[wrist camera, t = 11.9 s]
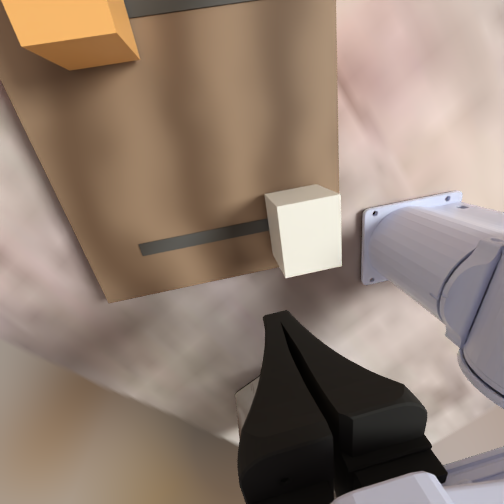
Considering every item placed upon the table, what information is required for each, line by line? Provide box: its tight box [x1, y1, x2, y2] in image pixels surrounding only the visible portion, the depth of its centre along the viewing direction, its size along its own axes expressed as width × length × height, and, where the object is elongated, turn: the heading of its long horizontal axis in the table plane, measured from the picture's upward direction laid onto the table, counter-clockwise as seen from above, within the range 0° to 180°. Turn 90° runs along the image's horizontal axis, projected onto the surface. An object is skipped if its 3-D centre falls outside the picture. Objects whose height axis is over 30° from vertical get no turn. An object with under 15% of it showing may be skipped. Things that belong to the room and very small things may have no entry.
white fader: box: [264, 184, 342, 278], centre depth 18 cm, size 4×5×4 cm
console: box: [0, 0, 339, 303], centre depth 18 cm, size 20×23×2 cm
